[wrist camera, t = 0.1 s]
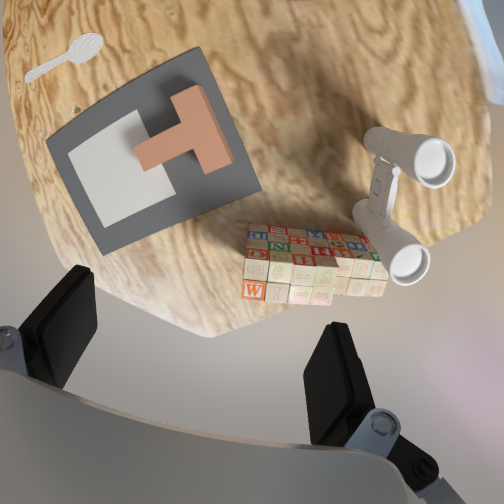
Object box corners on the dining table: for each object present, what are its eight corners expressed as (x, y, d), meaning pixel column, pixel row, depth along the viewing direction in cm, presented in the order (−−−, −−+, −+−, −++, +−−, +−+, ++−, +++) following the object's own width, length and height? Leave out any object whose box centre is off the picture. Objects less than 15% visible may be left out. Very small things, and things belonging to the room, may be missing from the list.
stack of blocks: (374, 236, 50) (401, 273, 39) (365, 268, 52) (388, 310, 41) (248, 222, 49) (244, 258, 38) (244, 257, 52) (240, 300, 41)
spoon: (24, 67, 36) (23, 67, 36) (103, 26, 35) (101, 26, 34) (27, 91, 39) (25, 92, 38) (106, 53, 37) (104, 53, 37)
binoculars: (363, 121, 41) (418, 132, 25) (394, 127, 41) (459, 143, 25) (346, 226, 49) (383, 285, 33) (376, 229, 49) (422, 286, 33)
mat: (46, 141, 43) (45, 141, 43) (200, 47, 37) (199, 47, 37) (104, 254, 53) (103, 255, 52) (261, 189, 47) (261, 190, 46)
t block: (132, 121, 42) (121, 123, 38) (202, 86, 39) (196, 84, 36) (163, 189, 47) (156, 196, 43) (234, 158, 44) (231, 163, 41)
